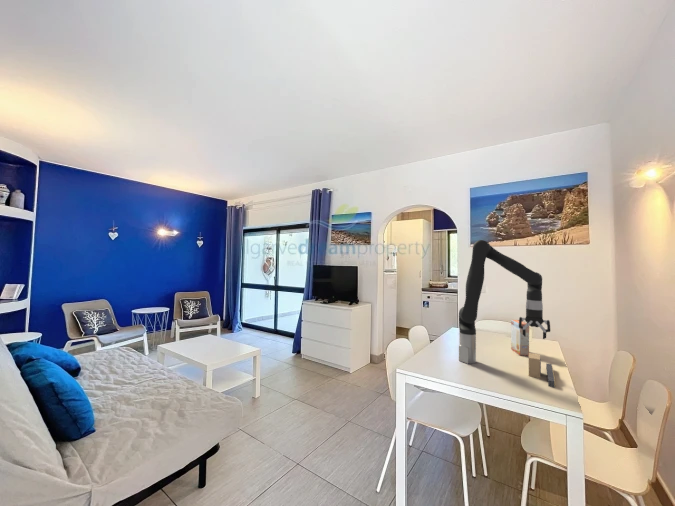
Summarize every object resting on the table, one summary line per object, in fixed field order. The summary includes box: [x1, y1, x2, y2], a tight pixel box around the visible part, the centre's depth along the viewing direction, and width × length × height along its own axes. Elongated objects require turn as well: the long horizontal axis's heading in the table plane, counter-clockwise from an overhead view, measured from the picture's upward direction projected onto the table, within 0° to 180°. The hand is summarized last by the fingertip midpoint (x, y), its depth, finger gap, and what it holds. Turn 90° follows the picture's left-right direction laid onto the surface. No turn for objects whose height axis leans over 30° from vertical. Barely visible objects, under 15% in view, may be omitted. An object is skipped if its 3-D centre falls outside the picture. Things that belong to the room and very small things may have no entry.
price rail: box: [545, 363, 556, 388], centre depth 148 cm, size 28×3×3 cm, turn 145°
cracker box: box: [510, 319, 530, 357], centre depth 188 cm, size 14×6×21 cm, turn 168°
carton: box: [528, 352, 542, 379], centre depth 152 cm, size 10×5×10 cm, turn 145°
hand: (534, 337), depth 152 cm, fingers open, 8 cm apart
